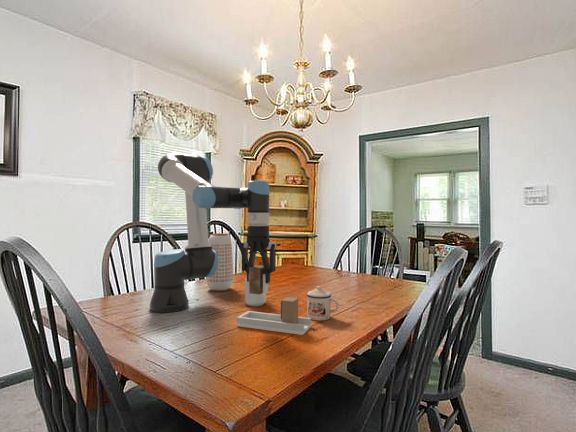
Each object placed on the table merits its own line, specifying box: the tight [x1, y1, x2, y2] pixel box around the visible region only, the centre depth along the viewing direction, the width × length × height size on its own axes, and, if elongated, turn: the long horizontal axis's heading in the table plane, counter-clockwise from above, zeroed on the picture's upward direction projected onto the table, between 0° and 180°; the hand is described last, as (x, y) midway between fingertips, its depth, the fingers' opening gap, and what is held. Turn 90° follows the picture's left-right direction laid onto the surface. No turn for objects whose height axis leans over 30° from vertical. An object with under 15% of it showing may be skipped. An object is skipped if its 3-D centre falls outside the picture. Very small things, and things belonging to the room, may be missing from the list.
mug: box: [244, 276, 267, 307], centre depth 154 cm, size 12×9×11 cm
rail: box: [236, 296, 312, 336], centre depth 123 cm, size 24×9×10 cm, turn 69°
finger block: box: [249, 265, 265, 294], centre depth 125 cm, size 5×5×9 cm
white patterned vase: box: [205, 232, 234, 292], centre depth 180 cm, size 13×13×28 cm
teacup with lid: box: [306, 285, 340, 322], centre depth 133 cm, size 12×9×12 cm
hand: (258, 291), depth 125 cm, fingers closed on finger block, 5 cm apart
